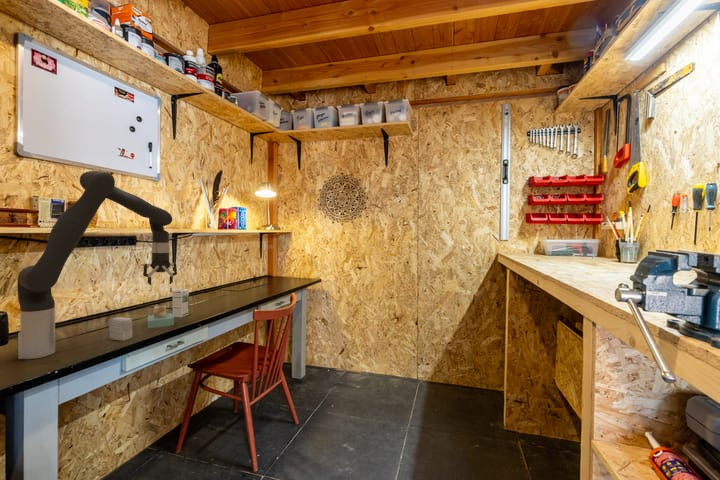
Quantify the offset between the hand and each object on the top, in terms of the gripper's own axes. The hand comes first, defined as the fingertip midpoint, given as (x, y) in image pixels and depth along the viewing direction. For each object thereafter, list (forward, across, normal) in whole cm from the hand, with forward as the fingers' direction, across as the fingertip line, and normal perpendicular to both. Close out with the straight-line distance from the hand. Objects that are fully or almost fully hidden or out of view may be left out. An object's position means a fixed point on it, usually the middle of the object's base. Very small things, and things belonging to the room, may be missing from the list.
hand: (160, 284), depth 166 cm
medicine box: (+20, -14, -18) cm, 30 cm away
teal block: (+20, 0, 0) cm, 20 cm away
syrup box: (+20, +9, +13) cm, 26 cm away
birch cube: (+16, 0, 0) cm, 16 cm away
